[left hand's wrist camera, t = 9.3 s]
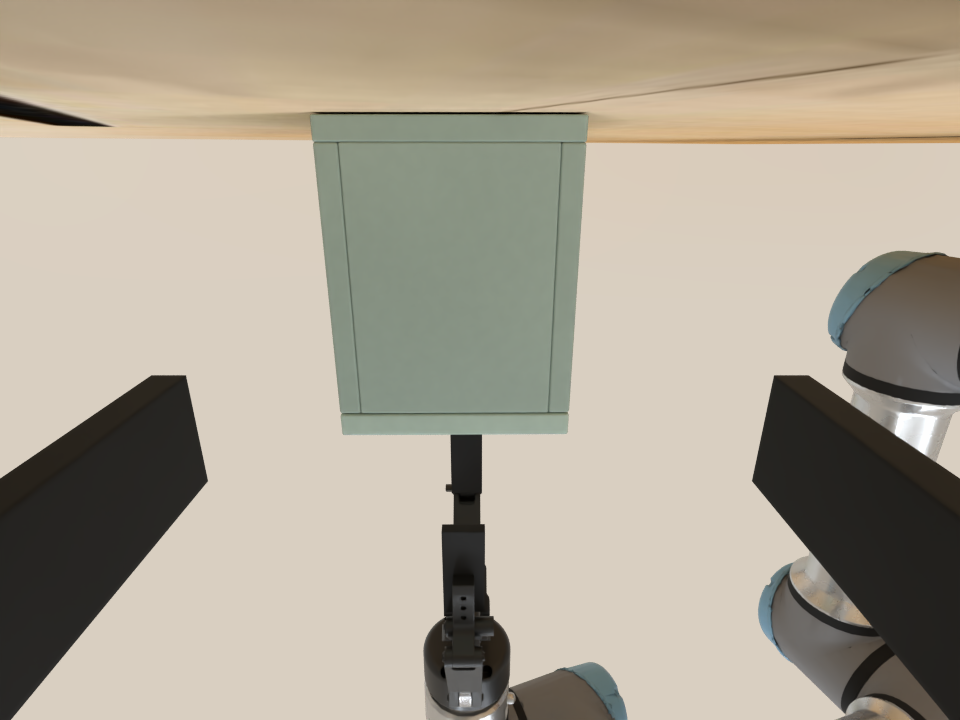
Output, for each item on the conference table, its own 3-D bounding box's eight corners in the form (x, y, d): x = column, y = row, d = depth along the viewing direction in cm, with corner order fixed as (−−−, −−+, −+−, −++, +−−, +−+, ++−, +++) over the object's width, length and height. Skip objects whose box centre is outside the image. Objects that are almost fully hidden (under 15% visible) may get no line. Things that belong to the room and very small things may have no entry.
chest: (533, 131, 34) (528, 300, 38) (388, 131, 34) (397, 300, 38) (588, 114, 18) (568, 412, 22) (309, 113, 18) (340, 413, 22)
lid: (527, 299, 39) (524, 404, 42) (398, 299, 39) (404, 405, 42) (569, 414, 22) (558, 576, 25) (340, 414, 22) (356, 578, 25)
